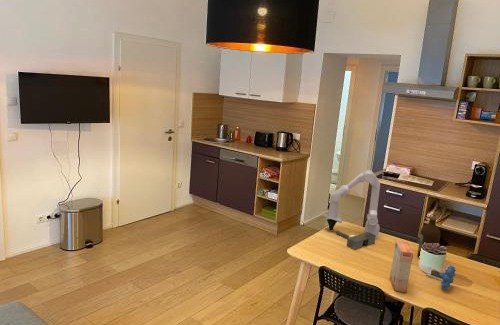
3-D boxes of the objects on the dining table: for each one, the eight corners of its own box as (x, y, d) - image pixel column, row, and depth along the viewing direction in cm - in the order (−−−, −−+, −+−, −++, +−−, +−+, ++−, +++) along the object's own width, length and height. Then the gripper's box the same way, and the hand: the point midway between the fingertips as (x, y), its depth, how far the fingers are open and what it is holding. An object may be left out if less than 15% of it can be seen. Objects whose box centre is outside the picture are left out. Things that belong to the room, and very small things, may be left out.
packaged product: (435, 257, 213) (455, 264, 207) (434, 265, 214) (453, 272, 208) (426, 268, 200) (447, 275, 193) (425, 276, 201) (445, 284, 194)
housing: (366, 239, 243) (367, 232, 242) (374, 243, 238) (375, 235, 237) (346, 246, 231) (347, 238, 229) (354, 250, 226) (355, 241, 225)
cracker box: (407, 293, 182) (414, 252, 177) (393, 291, 183) (400, 250, 179) (401, 279, 195) (408, 241, 191) (389, 277, 196) (395, 239, 192)
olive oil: (434, 256, 226) (442, 216, 220) (436, 263, 216) (444, 222, 211) (415, 252, 229) (422, 213, 224) (416, 259, 219) (423, 218, 214)
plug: (338, 233, 250) (339, 228, 249) (357, 241, 239) (358, 236, 238) (334, 234, 248) (335, 229, 247) (353, 243, 236) (354, 238, 235)
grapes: (441, 281, 196) (445, 259, 194) (455, 286, 191) (460, 264, 189) (432, 288, 188) (437, 266, 186) (447, 294, 184) (451, 271, 181)
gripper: (321, 208, 253) (318, 227, 256) (338, 214, 242) (335, 234, 244) (328, 206, 257) (325, 225, 260) (345, 213, 246) (342, 232, 249)
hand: (331, 229), depth 252 cm, fingers closed
